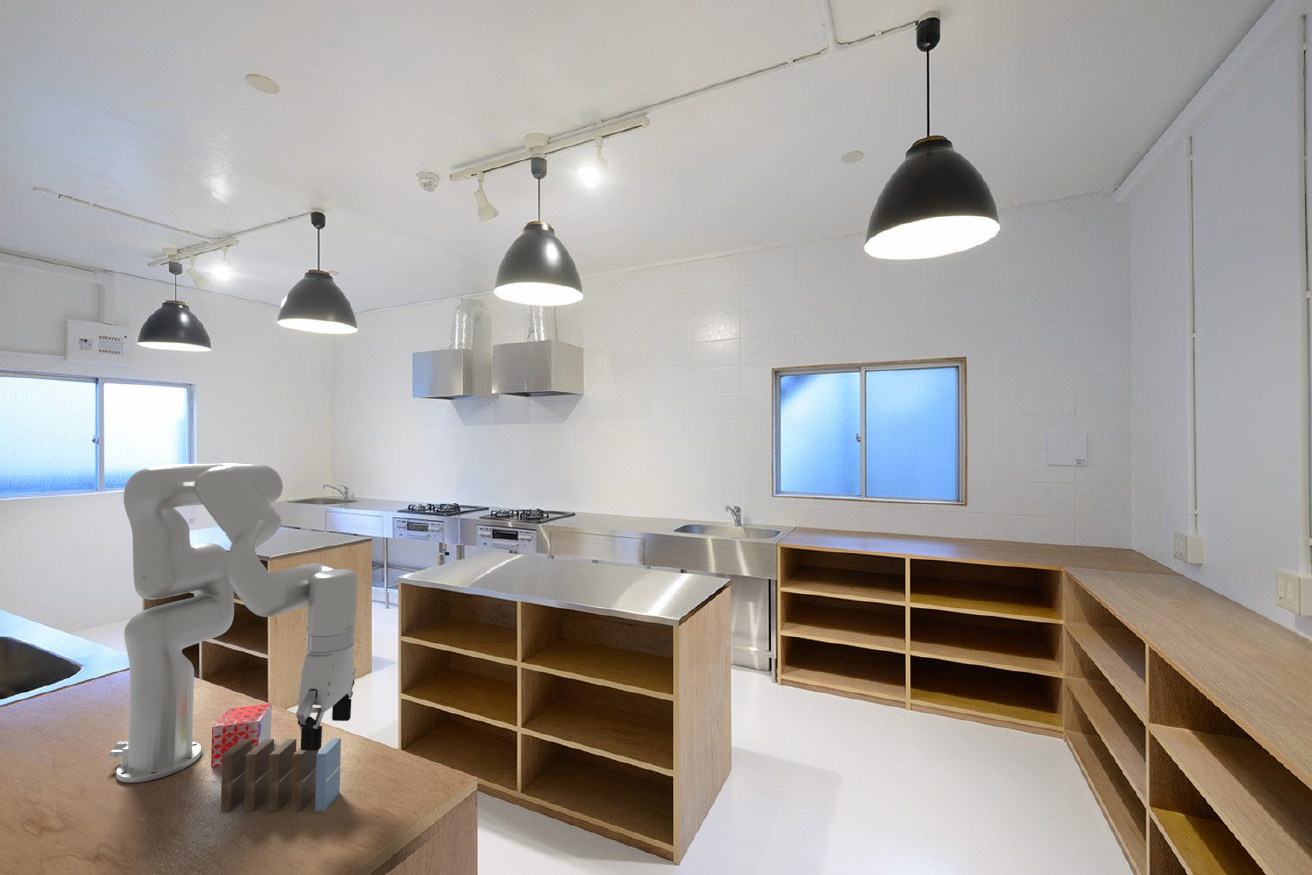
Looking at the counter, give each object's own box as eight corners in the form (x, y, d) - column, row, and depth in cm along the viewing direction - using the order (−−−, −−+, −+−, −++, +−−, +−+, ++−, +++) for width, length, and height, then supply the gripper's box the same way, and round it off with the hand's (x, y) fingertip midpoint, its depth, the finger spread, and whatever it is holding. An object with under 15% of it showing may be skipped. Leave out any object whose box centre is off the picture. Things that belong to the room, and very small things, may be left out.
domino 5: (314, 810, 95) (316, 753, 95) (330, 792, 100) (331, 738, 100) (324, 810, 95) (326, 753, 95) (339, 792, 100) (341, 738, 100)
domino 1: (220, 812, 94) (222, 754, 94) (241, 793, 99) (242, 739, 99) (230, 812, 94) (232, 754, 95) (250, 793, 99) (252, 738, 100)
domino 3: (267, 811, 95) (269, 754, 95) (285, 793, 100) (287, 738, 100) (277, 811, 95) (279, 754, 95) (295, 793, 100) (296, 738, 100)
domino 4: (291, 811, 95) (292, 754, 95) (308, 792, 100) (309, 738, 100) (301, 811, 95) (302, 753, 95) (317, 792, 100) (319, 738, 100)
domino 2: (244, 811, 94) (245, 754, 95) (263, 793, 99) (264, 738, 100) (254, 811, 95) (255, 754, 95) (273, 793, 100) (274, 738, 100)
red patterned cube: (226, 746, 115) (228, 708, 115) (270, 739, 117) (271, 703, 118) (210, 767, 107) (211, 727, 107) (258, 760, 110) (259, 721, 110)
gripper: (336, 622, 106) (331, 709, 106) (279, 658, 89) (274, 762, 89) (374, 623, 107) (370, 710, 107) (325, 659, 90) (320, 762, 89)
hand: (326, 733), depth 98 cm, fingers open, 9 cm apart
